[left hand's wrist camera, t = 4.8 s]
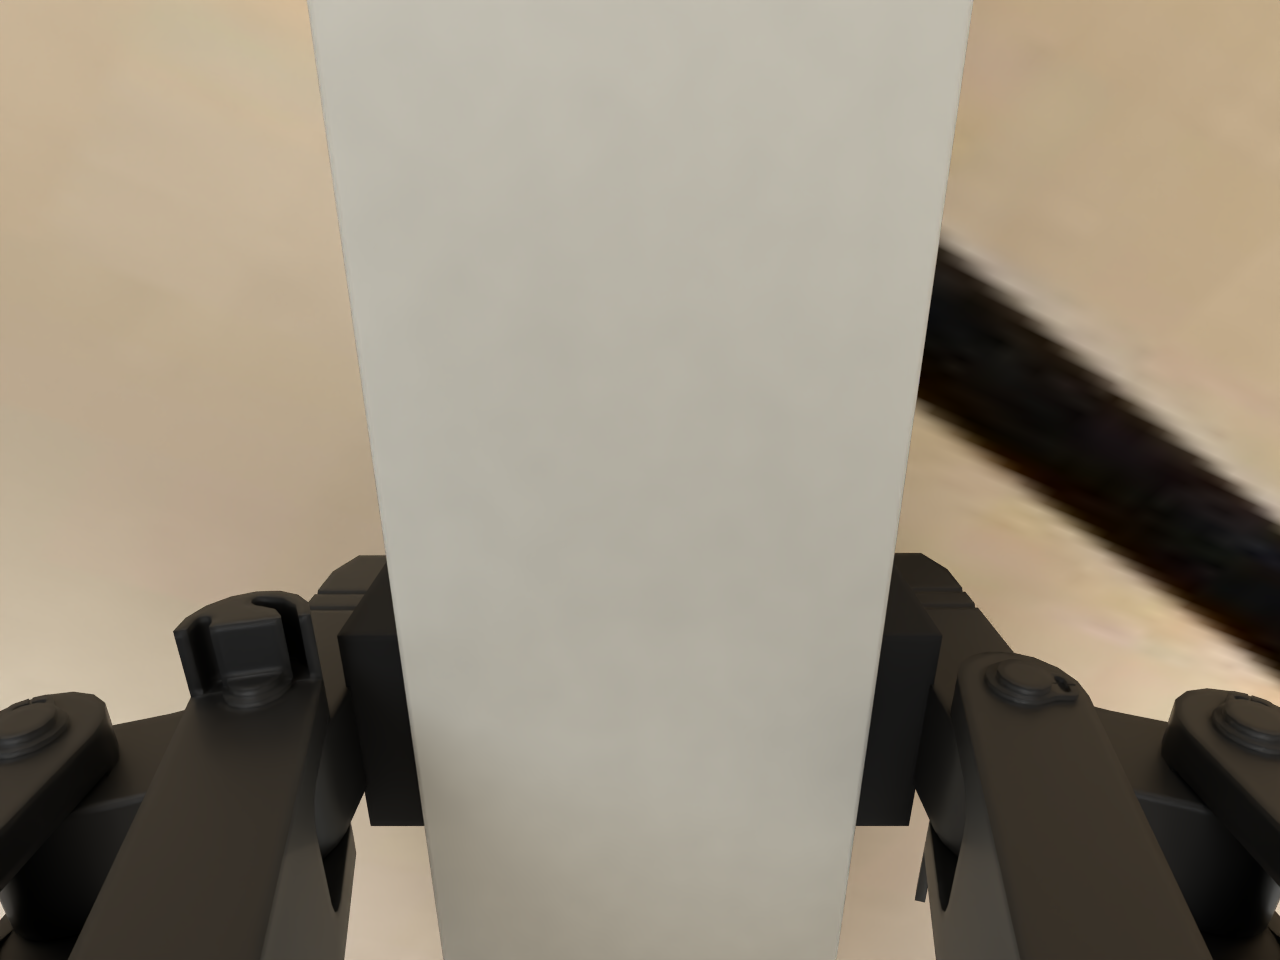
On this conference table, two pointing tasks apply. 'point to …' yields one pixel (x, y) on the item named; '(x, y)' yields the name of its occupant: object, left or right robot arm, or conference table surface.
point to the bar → (640, 438)
